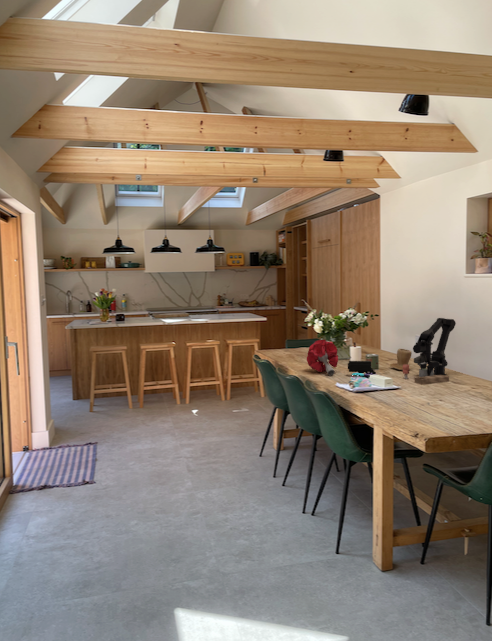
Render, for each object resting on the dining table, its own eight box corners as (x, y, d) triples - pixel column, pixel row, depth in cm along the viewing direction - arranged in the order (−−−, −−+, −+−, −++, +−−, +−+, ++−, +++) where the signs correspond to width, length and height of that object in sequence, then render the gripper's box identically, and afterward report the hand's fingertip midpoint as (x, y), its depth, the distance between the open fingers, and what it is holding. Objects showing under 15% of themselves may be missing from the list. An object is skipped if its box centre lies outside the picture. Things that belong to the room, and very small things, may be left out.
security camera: (375, 377, 338) (375, 362, 337) (347, 376, 341) (347, 362, 341) (375, 375, 345) (375, 360, 344) (347, 374, 348) (347, 360, 347)
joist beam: (440, 379, 327) (441, 374, 326) (448, 381, 320) (448, 376, 320) (414, 382, 319) (414, 377, 319) (422, 384, 313) (422, 379, 312)
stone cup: (414, 370, 358) (414, 349, 357) (399, 371, 356) (399, 350, 354) (403, 367, 373) (404, 347, 371) (388, 368, 370) (388, 347, 369)
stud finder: (428, 375, 338) (428, 367, 338) (433, 376, 334) (433, 368, 333) (419, 376, 335) (419, 368, 335) (423, 377, 331) (423, 369, 331)
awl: (406, 377, 334) (406, 364, 333) (410, 378, 330) (410, 365, 330) (401, 378, 333) (401, 364, 332) (405, 379, 329) (405, 365, 328)
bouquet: (344, 383, 353) (330, 356, 377) (348, 356, 340) (334, 330, 364) (315, 387, 350) (302, 359, 374) (318, 360, 336) (305, 334, 361)
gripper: (407, 350, 339) (406, 373, 340) (425, 354, 322) (425, 378, 323) (420, 349, 343) (420, 372, 344) (440, 353, 325) (439, 377, 327)
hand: (426, 375), depth 334 cm, fingers closed on stud finder, 4 cm apart
